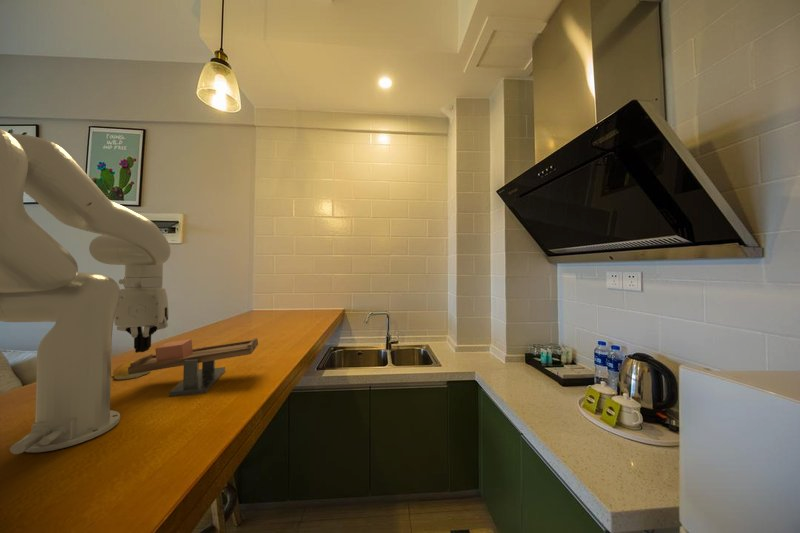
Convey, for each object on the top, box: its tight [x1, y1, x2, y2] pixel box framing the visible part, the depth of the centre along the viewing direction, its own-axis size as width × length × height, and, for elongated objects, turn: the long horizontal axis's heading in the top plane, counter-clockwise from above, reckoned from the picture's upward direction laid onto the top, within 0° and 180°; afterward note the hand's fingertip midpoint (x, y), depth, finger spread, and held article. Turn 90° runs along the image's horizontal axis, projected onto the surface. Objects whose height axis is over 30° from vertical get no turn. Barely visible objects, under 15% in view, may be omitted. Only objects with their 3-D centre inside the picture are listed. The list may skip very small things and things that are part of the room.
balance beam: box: [128, 337, 259, 374], centre depth 78 cm, size 11×28×3 cm, turn 107°
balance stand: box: [168, 359, 226, 398], centre depth 78 cm, size 16×8×8 cm, turn 17°
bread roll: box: [112, 359, 151, 381], centre depth 83 cm, size 8×9×4 cm
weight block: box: [154, 338, 194, 362], centre depth 76 cm, size 6×6×4 cm
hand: (142, 350), depth 74 cm, fingers closed
